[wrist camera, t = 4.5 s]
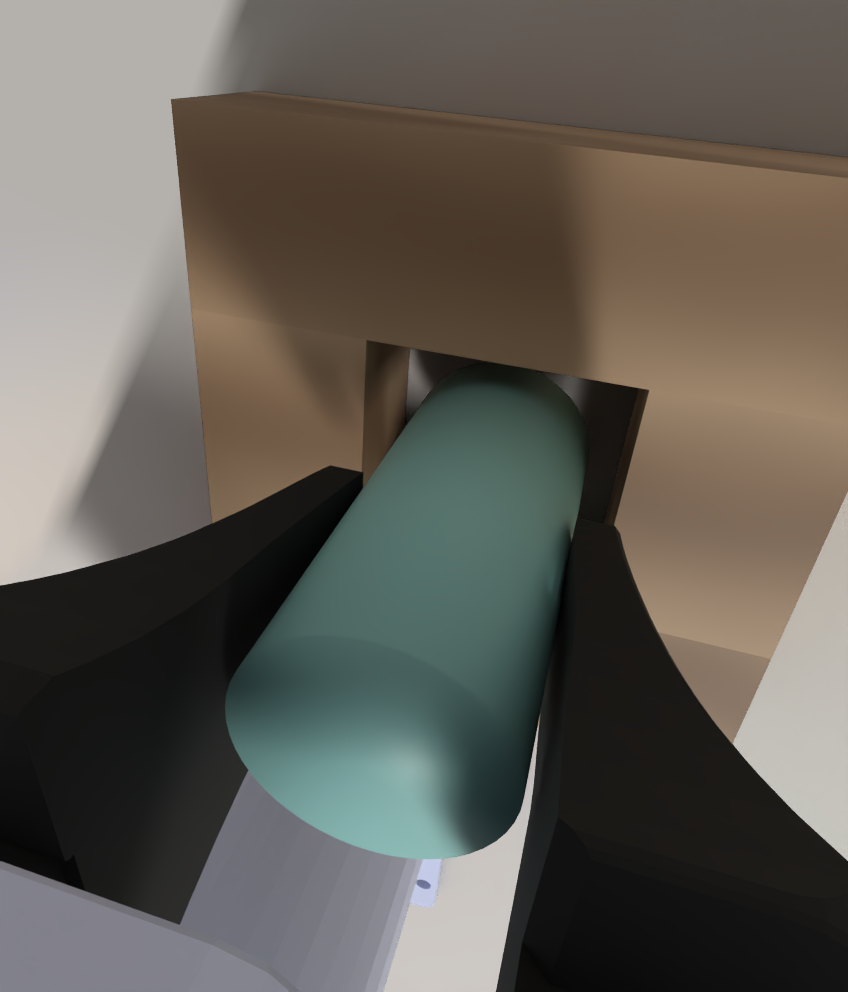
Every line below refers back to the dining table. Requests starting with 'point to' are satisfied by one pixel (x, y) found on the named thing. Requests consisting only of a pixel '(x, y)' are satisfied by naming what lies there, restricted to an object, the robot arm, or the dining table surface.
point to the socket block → (537, 326)
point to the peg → (424, 627)
